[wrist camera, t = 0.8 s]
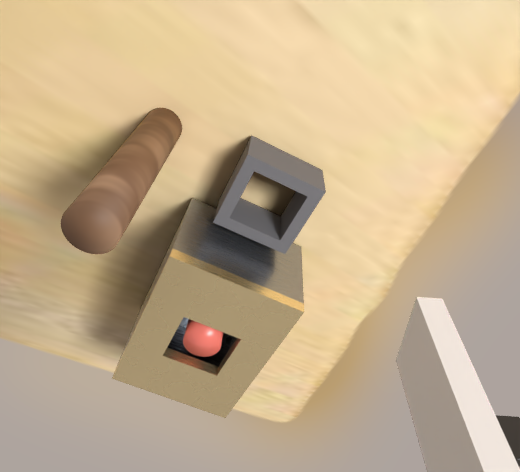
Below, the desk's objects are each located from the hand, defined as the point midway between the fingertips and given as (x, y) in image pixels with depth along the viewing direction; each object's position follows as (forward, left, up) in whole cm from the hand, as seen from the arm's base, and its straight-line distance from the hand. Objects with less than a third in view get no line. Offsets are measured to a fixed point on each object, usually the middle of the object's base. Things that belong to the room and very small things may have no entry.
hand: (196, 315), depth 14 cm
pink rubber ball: (+5, -18, -19) cm, 27 cm away
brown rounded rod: (-5, -6, -25) cm, 26 cm away
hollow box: (+5, -18, -25) cm, 31 cm away
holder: (+5, -6, -25) cm, 26 cm away
